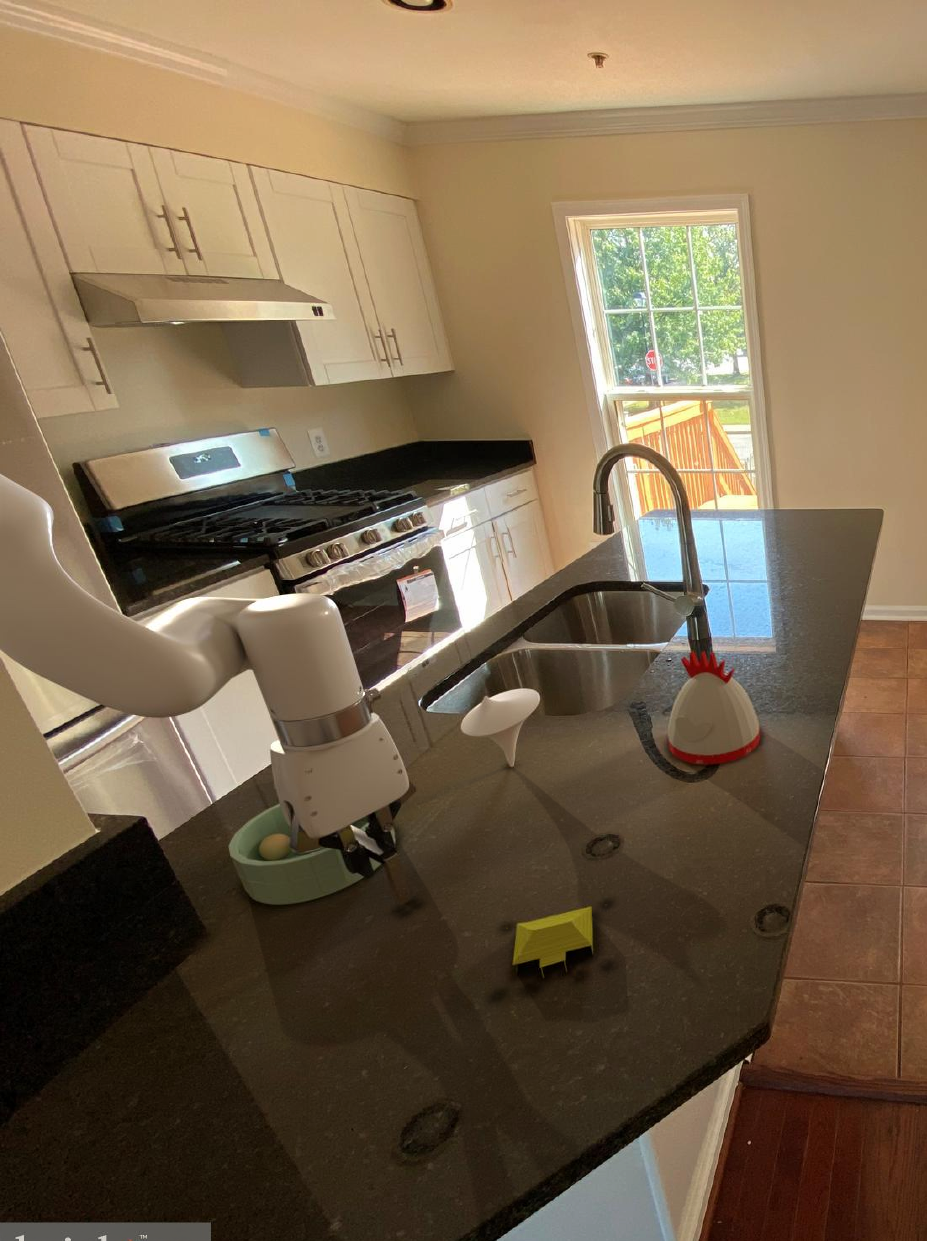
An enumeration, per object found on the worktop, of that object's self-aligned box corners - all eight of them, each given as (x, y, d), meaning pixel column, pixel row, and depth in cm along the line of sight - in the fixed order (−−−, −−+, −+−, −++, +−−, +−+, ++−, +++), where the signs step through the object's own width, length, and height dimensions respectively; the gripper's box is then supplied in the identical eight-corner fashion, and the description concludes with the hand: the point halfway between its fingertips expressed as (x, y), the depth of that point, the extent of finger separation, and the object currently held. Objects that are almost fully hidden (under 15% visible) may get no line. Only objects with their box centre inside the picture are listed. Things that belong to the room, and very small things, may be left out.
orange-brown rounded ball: (277, 864, 82) (260, 845, 82) (302, 846, 83) (286, 827, 83) (264, 866, 79) (247, 846, 79) (291, 847, 80) (273, 828, 80)
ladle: (289, 862, 81) (269, 814, 78) (335, 837, 85) (318, 791, 82) (383, 917, 73) (364, 865, 70) (429, 887, 77) (413, 837, 74)
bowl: (220, 876, 79) (203, 838, 77) (354, 809, 91) (342, 774, 89) (287, 922, 73) (270, 882, 71) (421, 844, 85) (410, 807, 83)
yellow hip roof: (606, 905, 76) (603, 885, 75) (609, 970, 68) (605, 948, 67) (506, 929, 73) (501, 908, 72) (497, 1000, 65) (491, 978, 64)
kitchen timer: (696, 713, 116) (688, 630, 110) (773, 725, 113) (769, 640, 107) (651, 756, 104) (640, 665, 98) (736, 771, 100) (729, 678, 94)
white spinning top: (482, 796, 94) (462, 719, 89) (465, 761, 102) (447, 688, 97) (561, 770, 100) (547, 697, 95) (540, 739, 108) (526, 670, 103)
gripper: (383, 680, 76) (424, 817, 84) (207, 746, 63) (273, 901, 71) (425, 695, 73) (463, 836, 80) (248, 768, 60) (313, 928, 68)
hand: (374, 865), depth 75 cm, fingers closed on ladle
